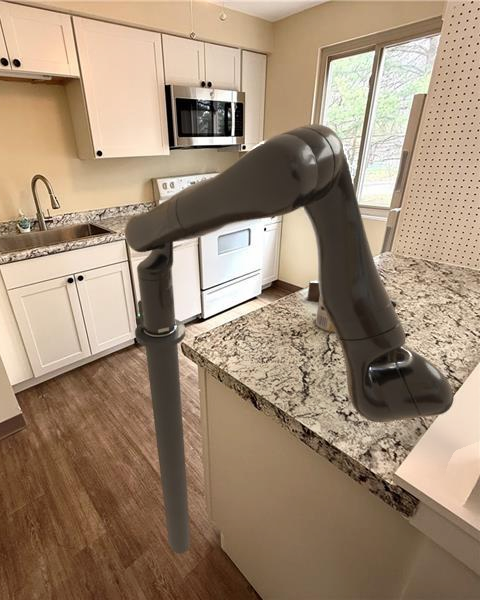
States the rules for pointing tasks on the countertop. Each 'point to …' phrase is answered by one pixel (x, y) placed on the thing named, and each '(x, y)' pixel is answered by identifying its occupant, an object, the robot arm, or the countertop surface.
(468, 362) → the countertop surface
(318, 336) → the countertop surface
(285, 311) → the countertop surface
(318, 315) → the canned food
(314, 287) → the brown rectangular block
